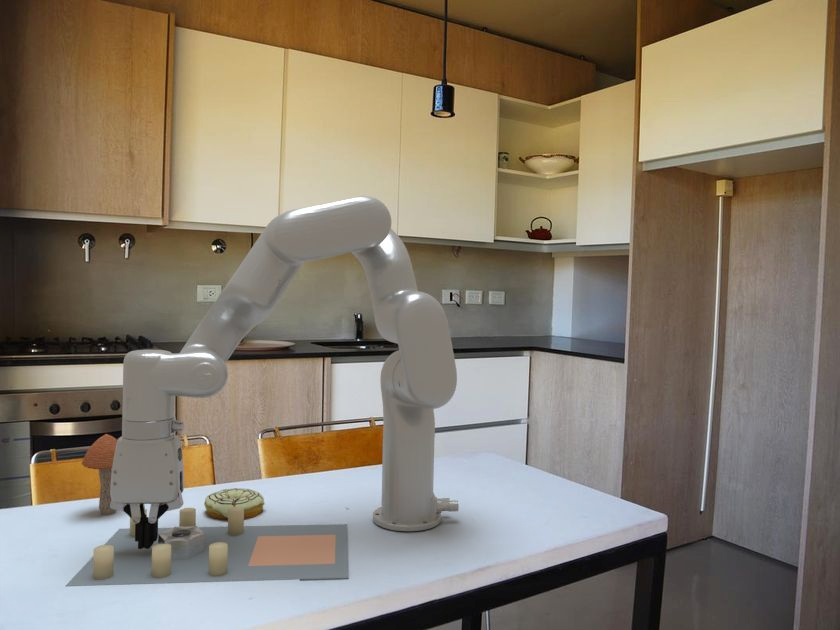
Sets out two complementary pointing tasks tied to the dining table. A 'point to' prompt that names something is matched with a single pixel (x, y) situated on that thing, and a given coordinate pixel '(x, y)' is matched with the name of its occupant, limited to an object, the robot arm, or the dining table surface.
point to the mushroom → (102, 468)
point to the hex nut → (183, 541)
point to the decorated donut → (234, 502)
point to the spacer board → (236, 558)
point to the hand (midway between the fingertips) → (146, 545)
